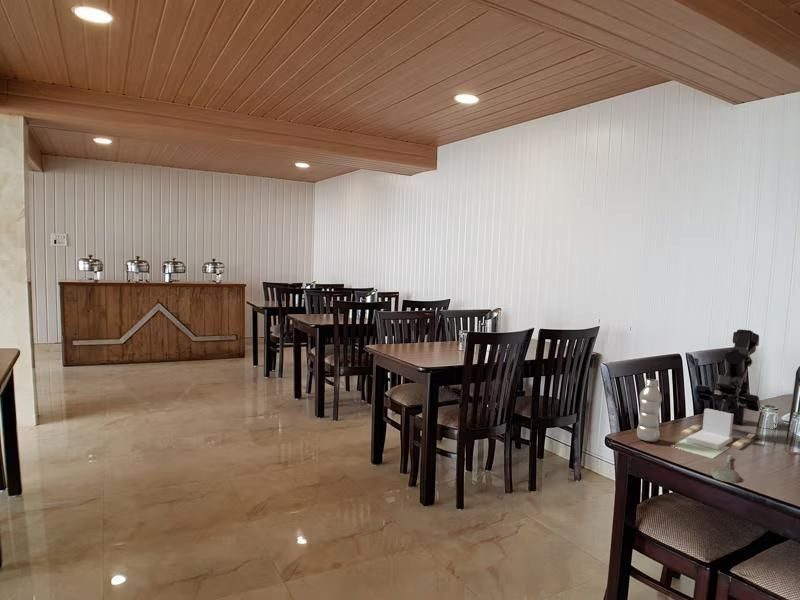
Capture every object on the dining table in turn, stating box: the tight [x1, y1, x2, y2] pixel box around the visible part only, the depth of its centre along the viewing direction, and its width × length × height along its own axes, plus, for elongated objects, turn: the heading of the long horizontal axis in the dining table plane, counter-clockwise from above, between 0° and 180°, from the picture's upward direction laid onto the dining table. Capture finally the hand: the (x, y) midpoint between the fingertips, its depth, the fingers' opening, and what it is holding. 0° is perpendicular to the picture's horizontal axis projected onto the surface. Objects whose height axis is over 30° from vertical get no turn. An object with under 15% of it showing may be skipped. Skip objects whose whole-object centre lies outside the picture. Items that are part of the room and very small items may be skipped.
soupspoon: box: [710, 454, 740, 484], centre depth 144 cm, size 22×3×7 cm
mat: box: [671, 437, 730, 460], centre depth 161 cm, size 16×12×1 cm
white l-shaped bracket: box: [685, 408, 734, 450], centre depth 167 cm, size 16×9×9 cm, turn 132°
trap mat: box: [700, 423, 750, 438], centre depth 181 cm, size 7×16×1 cm, turn 42°
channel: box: [680, 423, 752, 450], centre depth 172 cm, size 14×17×1 cm
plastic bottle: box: [636, 378, 663, 443], centre depth 165 cm, size 6×7×20 cm
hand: (719, 417), depth 173 cm, fingers closed, pressing on white l-shaped bracket
